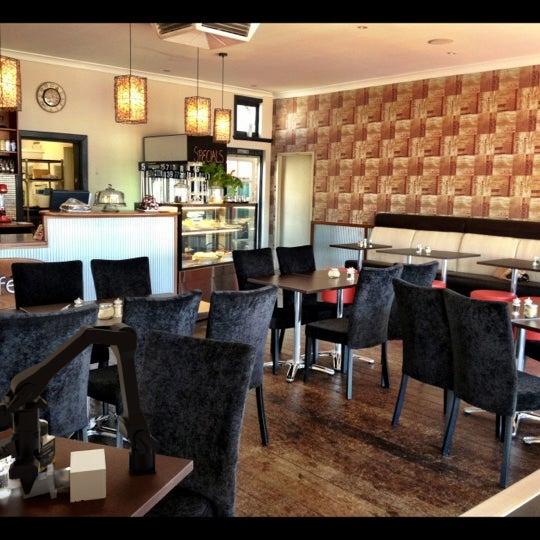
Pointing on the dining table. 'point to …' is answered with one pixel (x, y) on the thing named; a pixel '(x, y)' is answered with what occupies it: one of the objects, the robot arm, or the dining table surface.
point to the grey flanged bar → (50, 482)
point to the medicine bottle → (46, 446)
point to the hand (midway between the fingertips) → (27, 490)
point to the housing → (87, 475)
